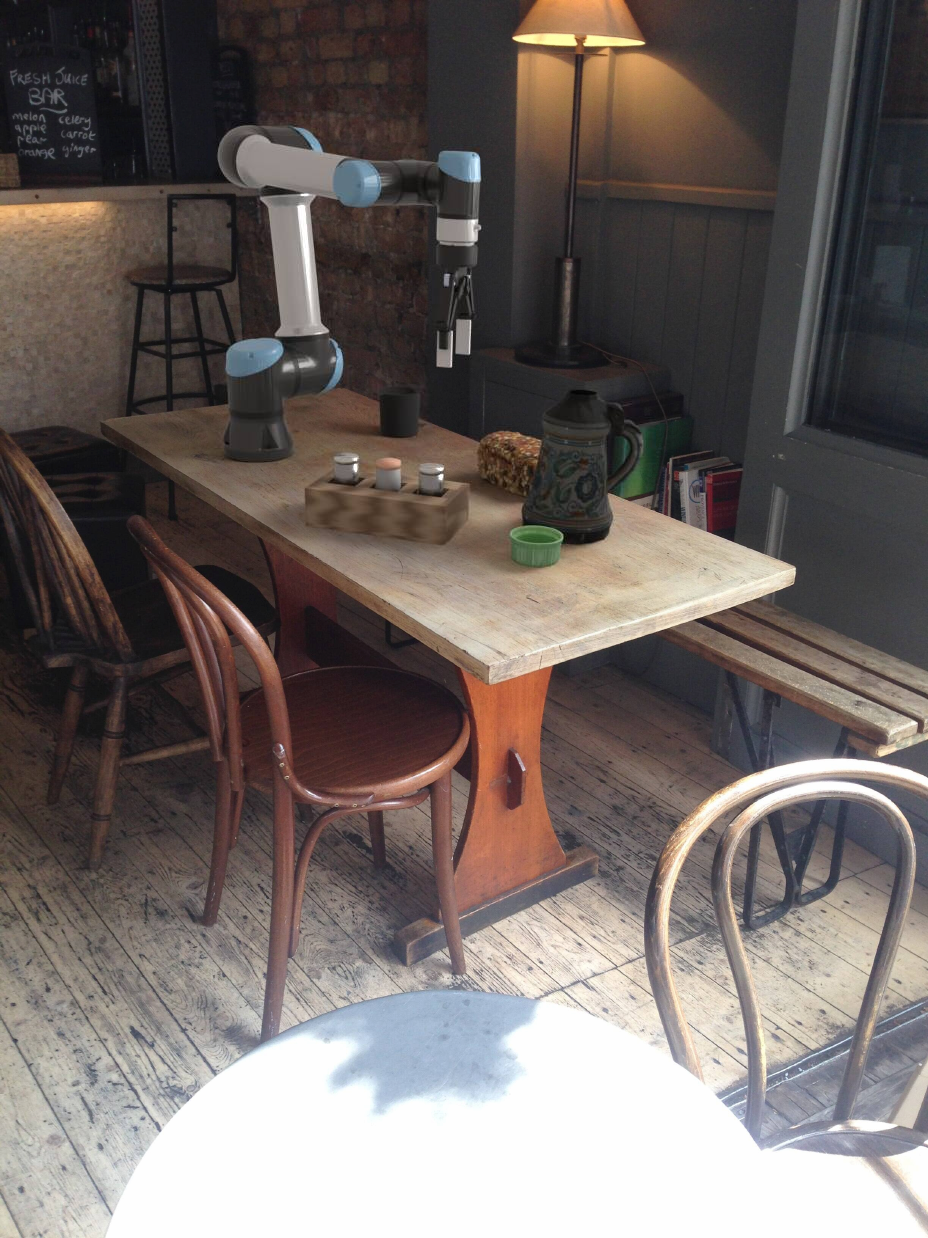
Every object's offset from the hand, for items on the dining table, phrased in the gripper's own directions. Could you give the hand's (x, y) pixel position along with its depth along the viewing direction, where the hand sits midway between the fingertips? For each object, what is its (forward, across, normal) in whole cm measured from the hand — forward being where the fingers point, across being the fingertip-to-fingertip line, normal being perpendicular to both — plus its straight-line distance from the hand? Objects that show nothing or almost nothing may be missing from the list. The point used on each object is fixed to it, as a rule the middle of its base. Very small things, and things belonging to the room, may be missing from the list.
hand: (453, 360), depth 209 cm
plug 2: (+20, -26, -3) cm, 33 cm away
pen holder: (+25, +35, +22) cm, 49 cm away
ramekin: (+25, -34, -24) cm, 48 cm away
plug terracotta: (+20, -25, +5) cm, 33 cm away
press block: (+25, -25, +5) cm, 36 cm away
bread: (+25, +5, -14) cm, 29 cm away
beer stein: (+25, -17, -28) cm, 41 cm away
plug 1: (+20, -25, +13) cm, 34 cm away
